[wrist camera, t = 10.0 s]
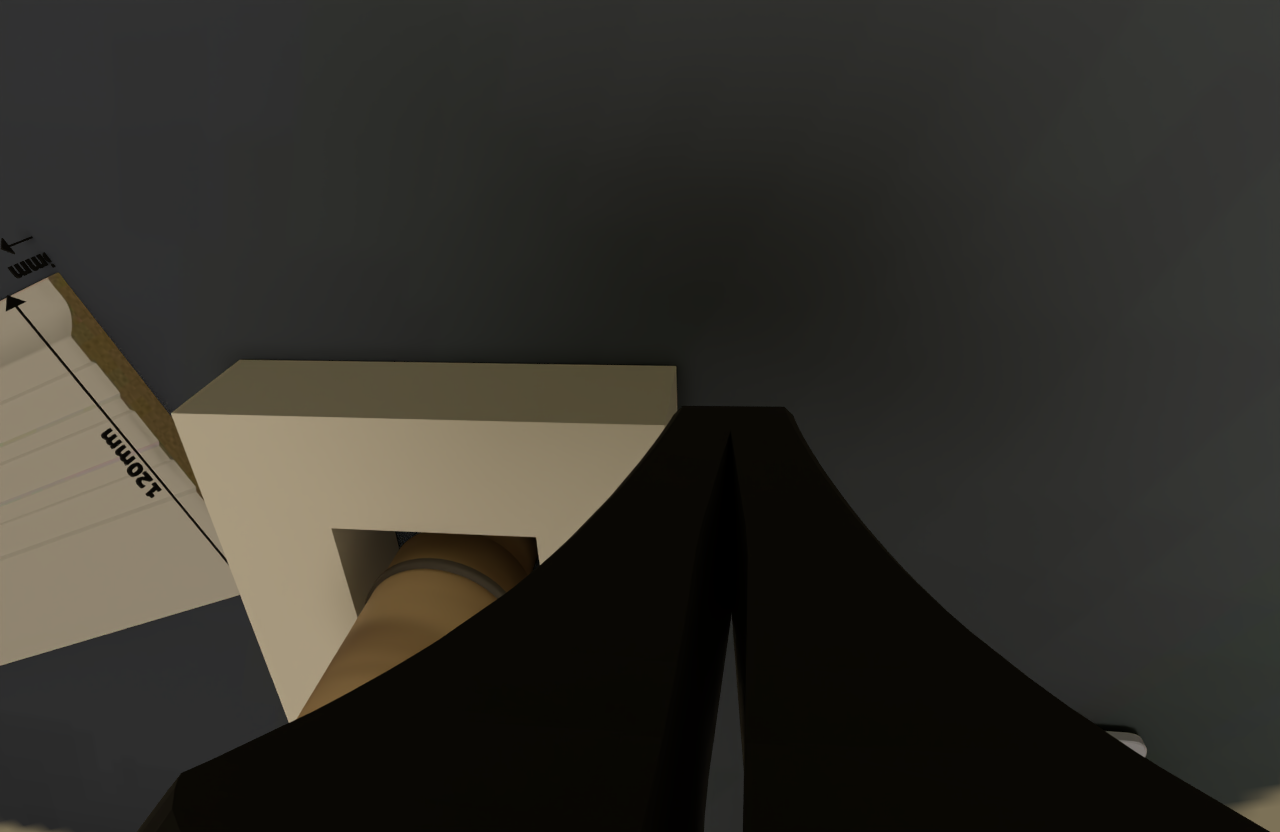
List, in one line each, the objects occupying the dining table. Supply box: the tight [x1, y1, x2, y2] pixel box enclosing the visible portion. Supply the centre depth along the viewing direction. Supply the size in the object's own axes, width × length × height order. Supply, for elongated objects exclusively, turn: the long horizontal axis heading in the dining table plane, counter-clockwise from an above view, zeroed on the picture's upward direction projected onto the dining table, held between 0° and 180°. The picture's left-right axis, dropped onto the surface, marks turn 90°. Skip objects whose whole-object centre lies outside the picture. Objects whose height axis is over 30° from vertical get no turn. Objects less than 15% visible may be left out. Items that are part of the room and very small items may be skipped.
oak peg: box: [297, 532, 538, 719], centre depth 20 cm, size 4×4×9 cm
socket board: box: [171, 360, 677, 723], centre depth 23 cm, size 12×12×3 cm
